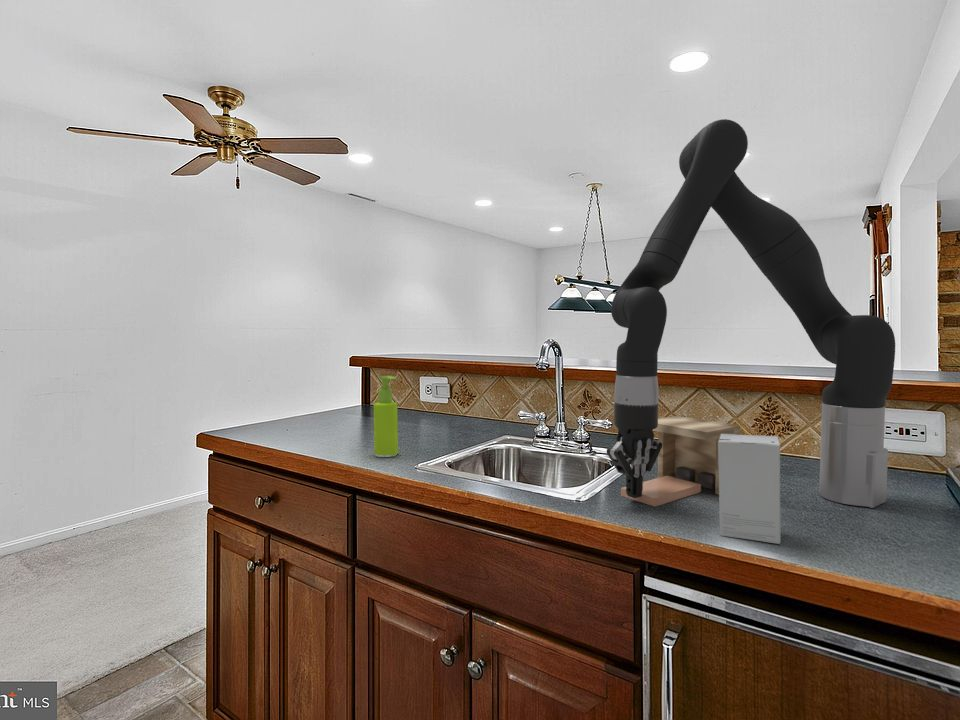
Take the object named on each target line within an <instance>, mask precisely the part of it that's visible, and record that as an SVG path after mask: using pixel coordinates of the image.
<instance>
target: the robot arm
mask: <svg viewBox="0 0 960 720" xmlns="http://www.w3.org/2000/svg"><path fill="white" fill-rule="evenodd" d="M748 141H749V140H748V135H747V132H746V131H745V129H744V127H743V126H741V125H740V124H739V123H738V122H736V121H733V120H731V119H727V118H725V119H717V120H714V121H712V122H710V123H708V124H707V125H706V126H704V127H703V128H702V129H700V130H699V131H698V132H697V134H696V135H694V136H693V137H692V138H691V140H689V142H688V143H687V144H686V145H685V147H683V148H682V150H681V153H680V154H679V160H678V165H679V170H680V172H681V175H682V176H683V179H684V181H683V184H682V185H681V187H680V189H679V191H678V193H677V194H676V196H675V197H674V199H673V201H672V202H671V204H670V205H669V206H668V208H667V209H666V211H665V213H664V214H663V215H662V217H661V218H660V220H659V222H658V223H657V225H656V226H655V228H654V230H653V232H652V233H651V235H650V237H649V238H648V241H647V243H646V245H645V247H644V249H643V251H642V253H641V255H640V257H639V260H638V262H637V264H636V265H635V266H634V268H632V270H631V271H630V272H629V274H628V275H627V277H626V278H625V279H624V281H623V282H622V284H621V285H620V286H619V288H618V290H617V291H616V293H615V294H614V297H613V299H612V303H611V306H610V313H611V317H612V319H613V321H614V323H616V324H617V326H619V327H621V328H625V329H627V333H626V338H625V341H624V342H623V343H621V344H619V345H618V347H617V349H616V364H615V365H616V370H615V371H616V373H615V382H614V394H613V395H614V396H613V397H614V399H613V400H614V401H613V406H614V407H613V426H615V427H616V428H617V434H616V438H615V441H616V443H615V445H613V447H610V446H609V447H607V448H606V455H607V456H608V457H609V459H610V461H611V462H612V464H613V466H614V468H615V470H616V472H617V473H618V474H622V475H625V481H626V482H625V487H626V493H627V495H628V496H630V497H633V498H638V497H641V496H642V490H643V485H642V484H643V482H644V480H643V479H644V477H645V475H646V473H647V472H649V473H650V472H651V471H652V469H653V467H654V466H655V462H656V461H657V460H658V454H659V452H660V450H661V448H662V443H661V442H658V440H656V439H655V433H654V431H653V429H655V428H657V426H658V419H659V393H660V391H659V381H658V360H659V359H658V356H659V355H658V352H659V349H660V345H661V343H662V339H663V336H664V335H663V334H664V331H665V326H666V323H667V316H668V309H667V303H666V299H665V297H664V296H663V294H662V292H660V291H661V289H662V288H663V287H665V286H666V285H668V284H670V283H672V282H673V281H674V280H675V278H676V276H677V275H678V273H679V271H680V269H681V267H682V264H684V262H685V259H686V256H688V252H689V250H690V248H691V246H692V244H693V243H694V240H695V238H696V236H697V234H698V232H699V231H700V228H701V226H702V224H703V222H704V221H705V219H706V216H707V215H708V213H709V212H710V209H712V210H714V212H715V213H716V214H717V215H718V216H719V218H720V219H721V221H723V223H724V224H725V226H726V227H727V228H728V229H729V230H730V232H731V233H732V234H733V236H734V237H735V238H736V239H737V240H738V242H739V243H740V244H741V245H742V247H743V248H744V250H745V251H746V253H747V255H749V257H750V258H751V260H752V261H753V263H755V265H756V266H757V268H758V269H759V270H760V272H761V273H762V274H763V276H765V278H767V280H768V281H769V283H770V284H771V285H772V286H773V287H774V289H775V290H776V292H778V294H779V296H781V298H782V299H783V300H784V301H785V303H786V304H787V305H788V306H789V308H790V309H791V310H792V312H793V313H794V314H795V316H796V318H797V319H798V321H799V322H800V324H801V326H802V328H803V329H804V331H805V333H806V335H808V338H809V340H810V341H811V342H812V344H813V346H814V348H815V350H817V352H818V353H819V354H820V356H821V357H822V358H823V359H825V360H826V361H827V362H828V363H831V364H834V365H835V372H834V378H833V380H832V382H831V383H830V384H829V385H826V386H825V387H824V388H823V389H822V394H821V421H820V424H821V425H820V427H821V428H820V456H819V458H820V459H819V482H818V483H819V484H818V485H819V488H818V490H819V493H818V494H819V496H820V497H823V498H824V499H825V500H828V501H832V502H836V503H840V504H844V505H850V506H858V507H866V508H871V509H874V508H876V507H878V506H880V505H882V504H884V503H886V502H887V490H888V489H887V486H888V465H889V464H888V462H889V461H888V460H889V459H888V457H889V450H888V449H887V448H884V444H885V424H886V423H885V420H886V419H885V418H886V417H885V416H886V400H887V397H888V395H889V393H890V391H891V390H892V386H893V385H892V384H893V377H894V368H895V359H896V358H895V357H896V338H895V332H894V331H893V328H892V326H891V325H890V324H889V323H888V322H887V321H886V320H885V319H883V318H882V317H879V316H876V315H872V314H871V315H870V314H863V315H862V314H861V315H860V314H859V315H858V314H857V315H852V314H851V313H850V312H849V311H848V309H846V308H845V307H844V306H843V304H842V303H841V302H840V301H839V300H838V299H837V297H836V296H835V295H834V293H833V292H832V291H831V289H830V287H829V285H828V283H827V279H826V275H825V271H824V267H823V262H822V258H821V255H820V252H819V250H818V247H817V246H816V245H815V243H814V241H813V240H812V239H811V237H810V236H809V234H807V232H806V231H805V229H804V228H803V226H801V224H800V222H798V221H797V220H796V218H794V216H792V215H791V214H790V213H788V212H787V211H785V210H783V209H782V208H780V207H778V206H776V205H775V204H772V203H770V202H768V201H766V200H765V199H763V198H761V197H760V196H757V195H756V194H755V193H754V192H752V191H751V190H750V189H749V188H748V187H747V186H746V185H745V184H744V182H743V181H742V180H741V178H740V177H739V175H738V174H737V173H736V172H735V171H736V170H737V169H738V167H739V165H740V164H741V163H742V161H743V160H744V158H745V157H746V155H747V151H748V146H749V142H748Z"/></svg>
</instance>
